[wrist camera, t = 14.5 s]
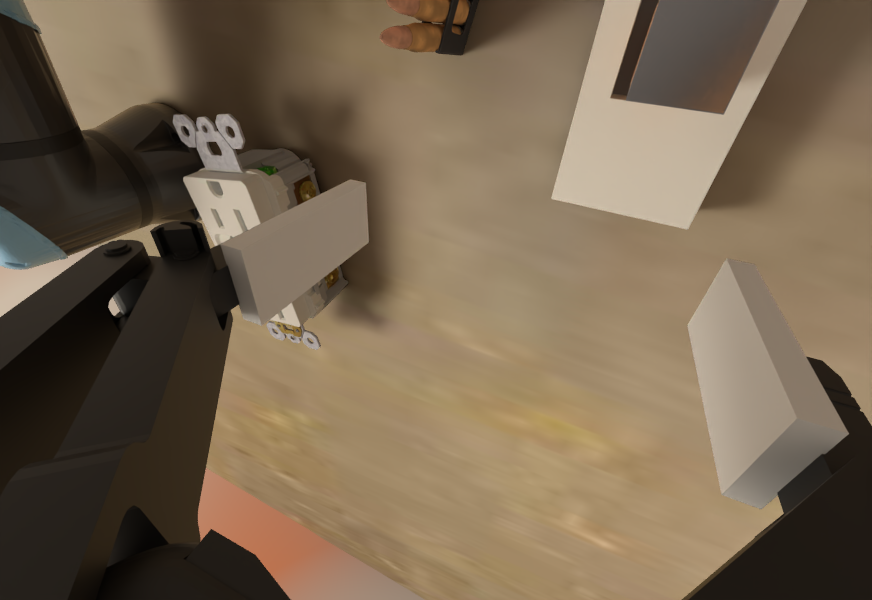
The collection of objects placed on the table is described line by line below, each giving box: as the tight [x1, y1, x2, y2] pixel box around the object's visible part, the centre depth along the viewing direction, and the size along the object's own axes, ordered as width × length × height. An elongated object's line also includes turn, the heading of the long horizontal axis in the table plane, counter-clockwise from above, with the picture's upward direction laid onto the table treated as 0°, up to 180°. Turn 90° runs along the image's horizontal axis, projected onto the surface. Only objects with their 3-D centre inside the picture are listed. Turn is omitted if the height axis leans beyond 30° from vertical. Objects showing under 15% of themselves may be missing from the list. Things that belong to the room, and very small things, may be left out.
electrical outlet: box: [173, 114, 348, 350], centre depth 45 cm, size 12×28×10 cm, turn 4°
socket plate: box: [551, 0, 807, 230], centre depth 26 cm, size 10×16×4 cm, turn 175°
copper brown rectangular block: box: [626, 0, 779, 115], centre depth 21 cm, size 4×4×12 cm
